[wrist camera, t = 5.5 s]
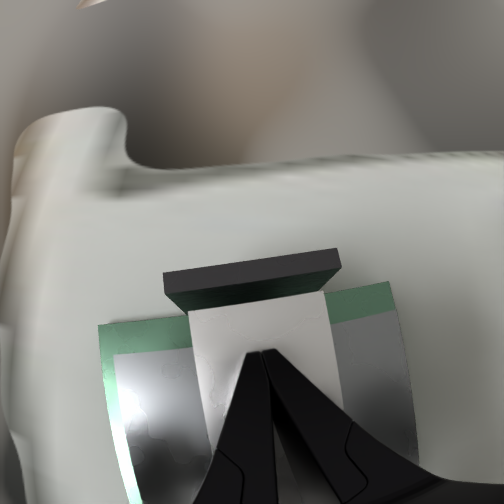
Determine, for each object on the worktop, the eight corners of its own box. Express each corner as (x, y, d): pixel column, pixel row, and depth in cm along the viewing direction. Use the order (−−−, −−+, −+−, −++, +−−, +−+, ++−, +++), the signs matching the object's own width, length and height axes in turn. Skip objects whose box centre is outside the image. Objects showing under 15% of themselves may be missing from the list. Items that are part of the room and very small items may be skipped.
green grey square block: (412, 518, 12) (489, 569, 4) (159, 566, 11) (123, 646, 3) (381, 285, 18) (468, 227, 10) (105, 327, 16) (11, 293, 8)
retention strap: (354, 591, 6) (359, 599, 6) (258, 612, 6) (259, 620, 5) (318, 293, 10) (323, 290, 9) (190, 313, 10) (187, 311, 9)
